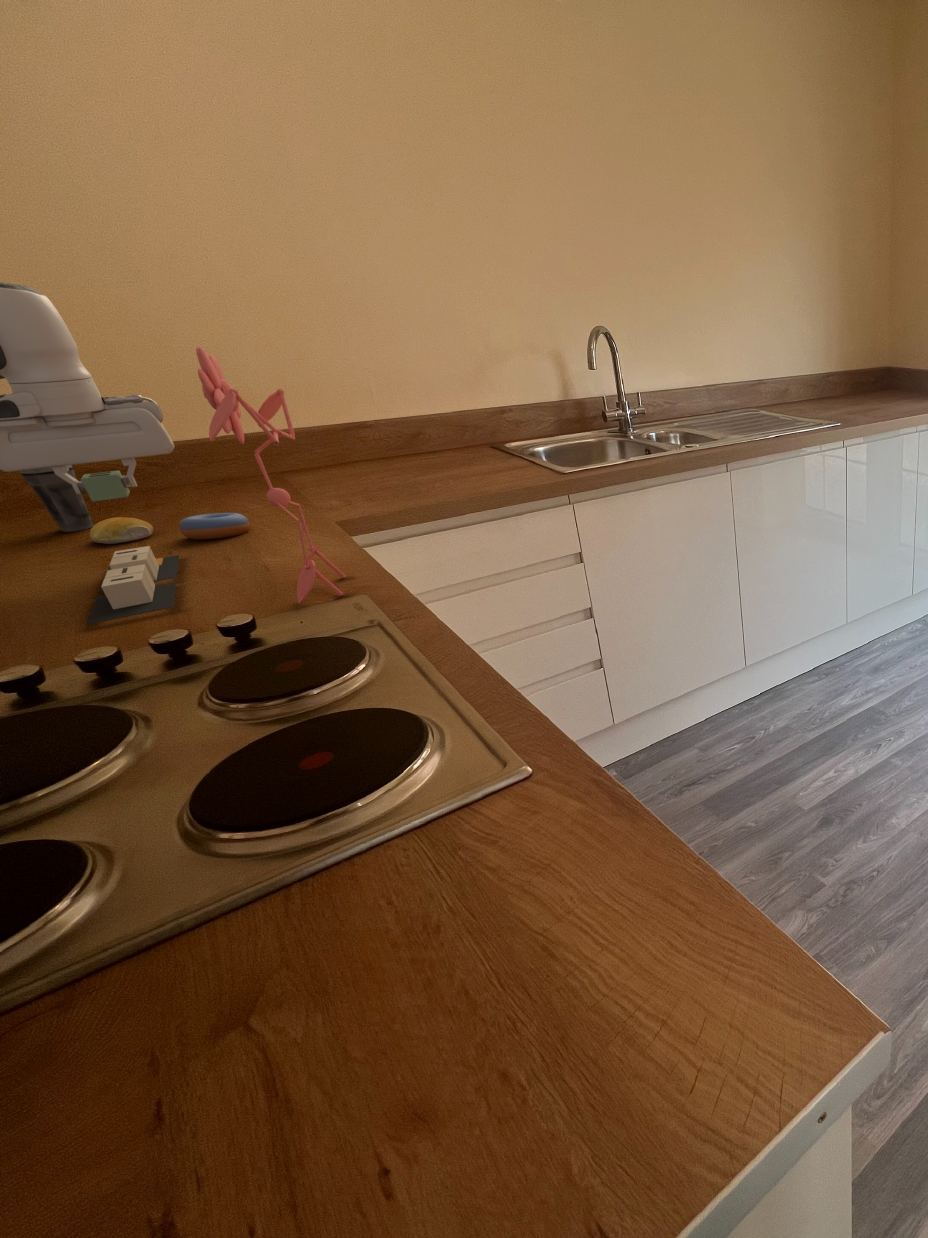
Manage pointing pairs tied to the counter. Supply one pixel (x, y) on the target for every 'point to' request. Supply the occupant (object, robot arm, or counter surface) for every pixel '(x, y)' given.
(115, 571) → the white slotted cube
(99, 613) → the mats
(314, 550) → the figurine
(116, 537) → the bread roll
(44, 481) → the beverage cup
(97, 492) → the slotted green block
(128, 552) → the off-white marked cube
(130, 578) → the white slotted box
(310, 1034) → the counter surface
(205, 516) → the doughnut
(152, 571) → the slotted cream cube
